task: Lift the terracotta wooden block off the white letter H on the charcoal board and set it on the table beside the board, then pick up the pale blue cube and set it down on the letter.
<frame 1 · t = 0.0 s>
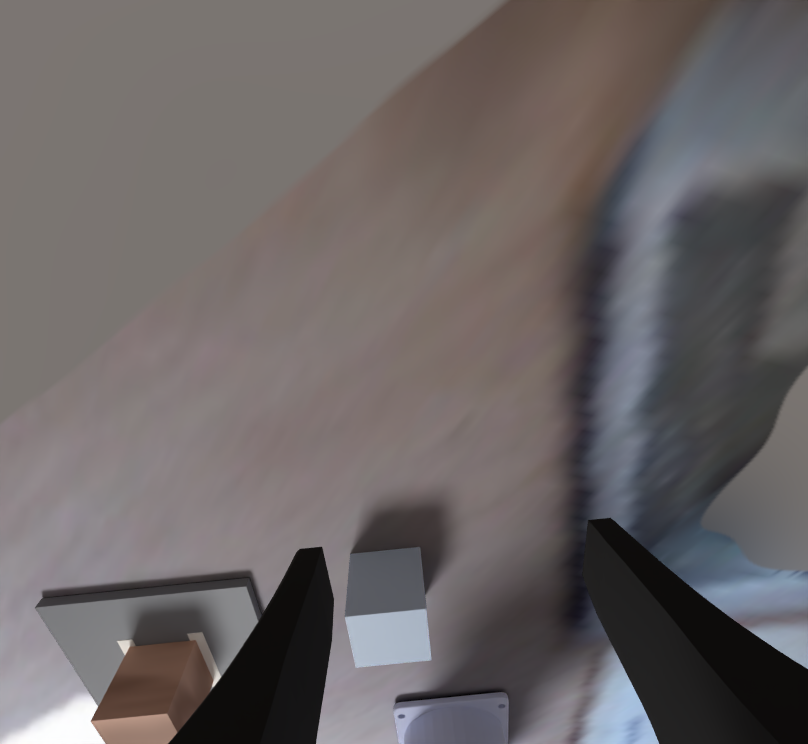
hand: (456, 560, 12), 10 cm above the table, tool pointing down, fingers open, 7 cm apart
terracotta block: (172, 664, 28), point 1 cm above the table, touching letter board
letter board: (177, 654, 29), on the table
pale blue cube: (388, 574, 27), on the table
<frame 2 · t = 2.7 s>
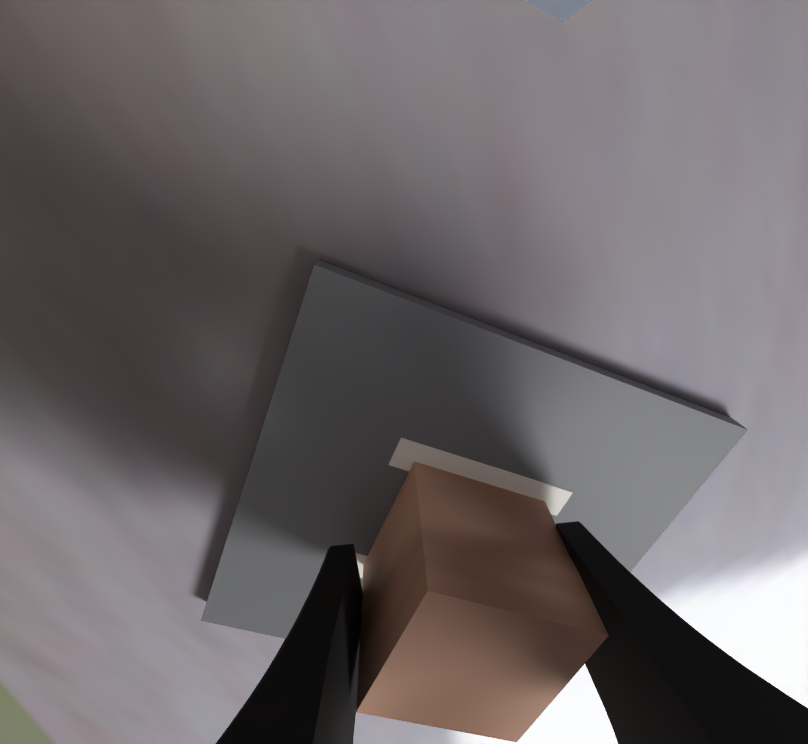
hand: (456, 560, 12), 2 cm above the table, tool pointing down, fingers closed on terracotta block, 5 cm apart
terracotta block: (451, 533, 13), point 1 cm above the table, touching gripper, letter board
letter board: (448, 518, 14), on the table
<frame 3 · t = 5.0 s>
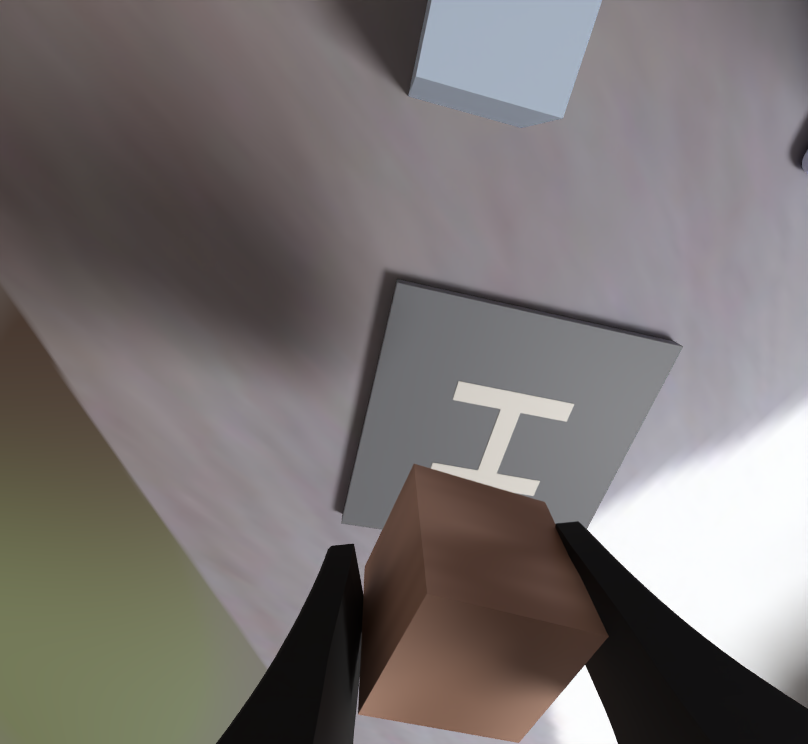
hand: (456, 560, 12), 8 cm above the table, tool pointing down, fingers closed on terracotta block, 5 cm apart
terracotta block: (452, 535, 13), point 7 cm above the table, touching gripper
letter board: (495, 434, 21), on the table
pale blue cube: (483, 42, 14), on the table
when the fingers open (2 cm above the table, at t = 7.3 s): terracotta block drops 2 cm, on the table.
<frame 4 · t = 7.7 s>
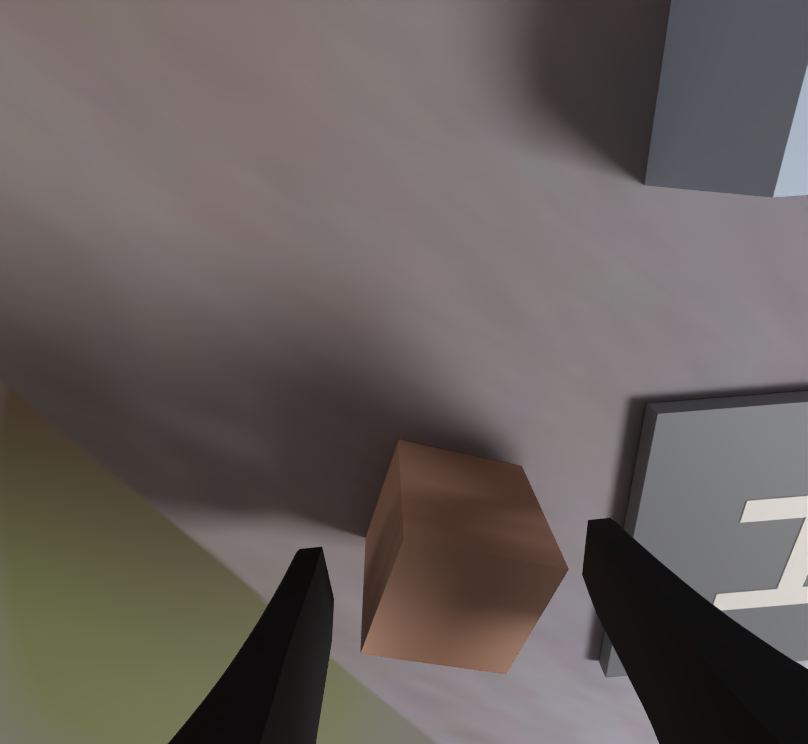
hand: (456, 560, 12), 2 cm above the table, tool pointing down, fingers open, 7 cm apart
terracotta block: (440, 501, 15), on the table
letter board: (788, 539, 16), on the table
pale blue cube: (746, 80, 10), on the table
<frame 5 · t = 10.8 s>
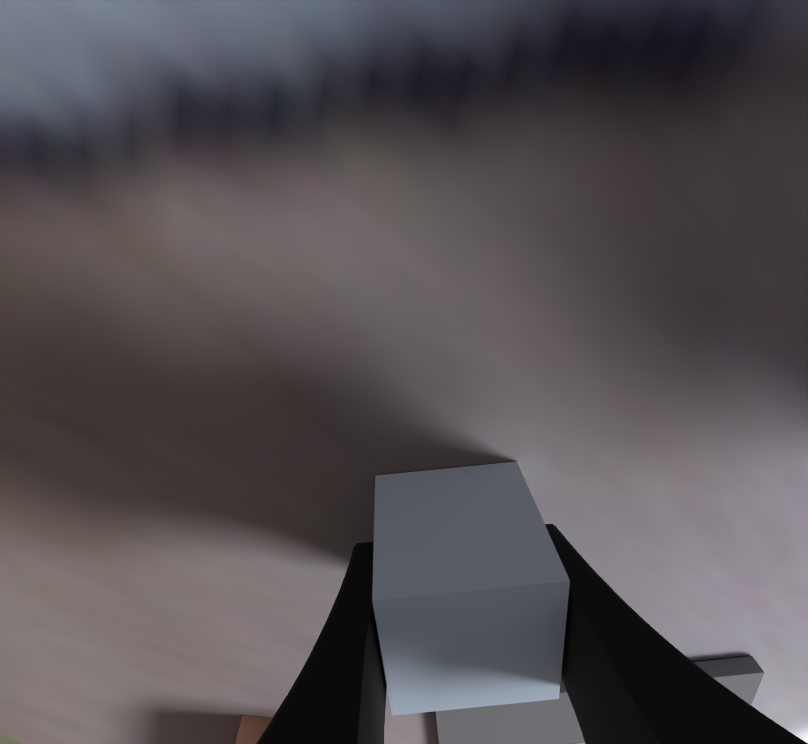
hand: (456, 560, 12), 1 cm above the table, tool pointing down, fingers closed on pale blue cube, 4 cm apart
pale blue cube: (449, 522, 14), on the table, touching gripper
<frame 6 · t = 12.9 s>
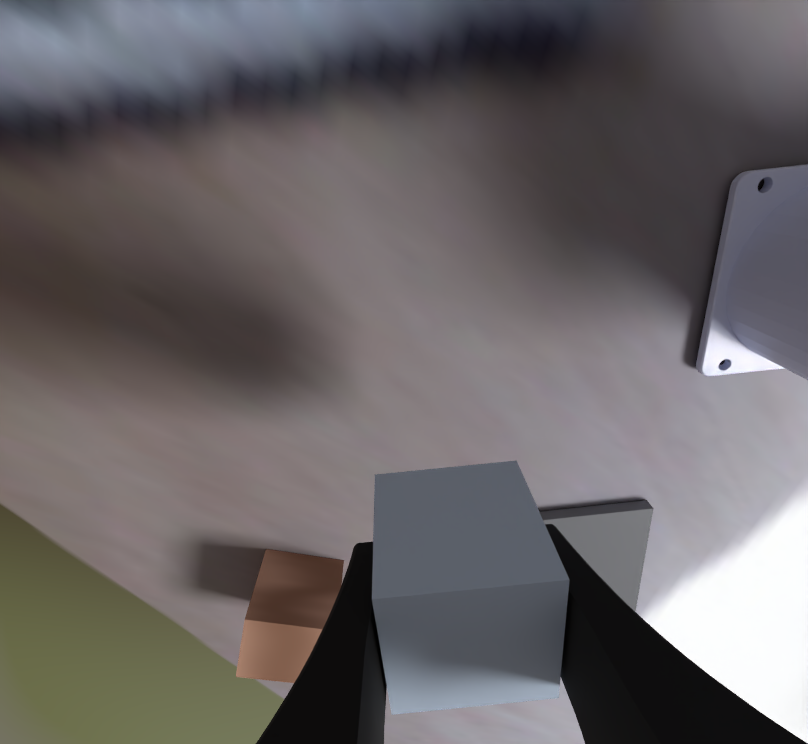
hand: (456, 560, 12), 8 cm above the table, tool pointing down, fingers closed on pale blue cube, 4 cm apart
terracotta block: (299, 580, 24), on the table
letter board: (525, 595, 25), on the table
pale blue cube: (449, 521, 14), point 7 cm above the table, touching gripper
when the fingers open (3 cm above the table, at t = 15.3 s): pale blue cube drops 1 cm, resting on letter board.
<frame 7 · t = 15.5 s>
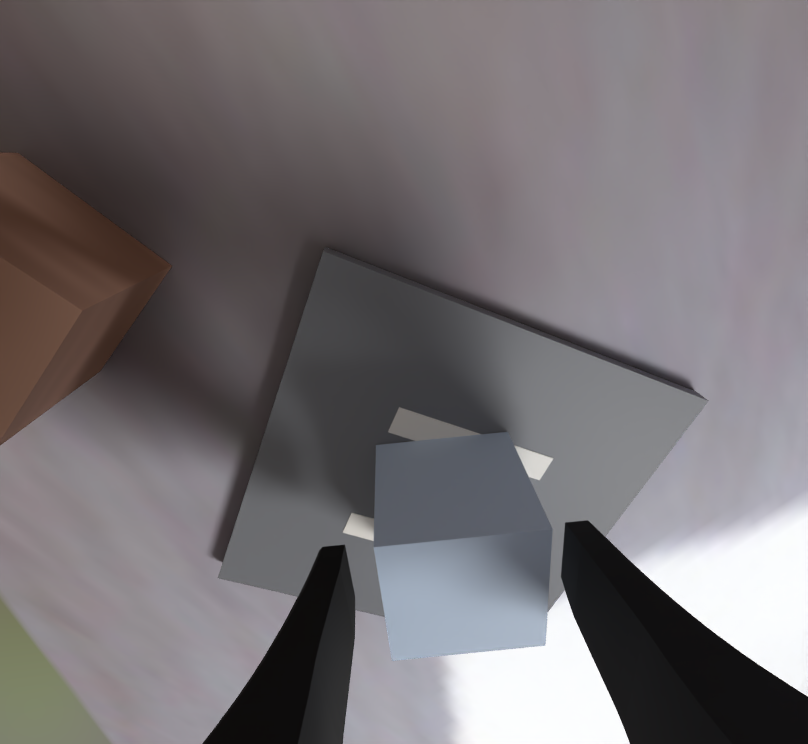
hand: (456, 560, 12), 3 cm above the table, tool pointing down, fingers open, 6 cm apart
terracotta block: (65, 272, 12), on the table
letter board: (442, 484, 15), on the table
pale blue cube: (445, 490, 15), point 1 cm above the table, touching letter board
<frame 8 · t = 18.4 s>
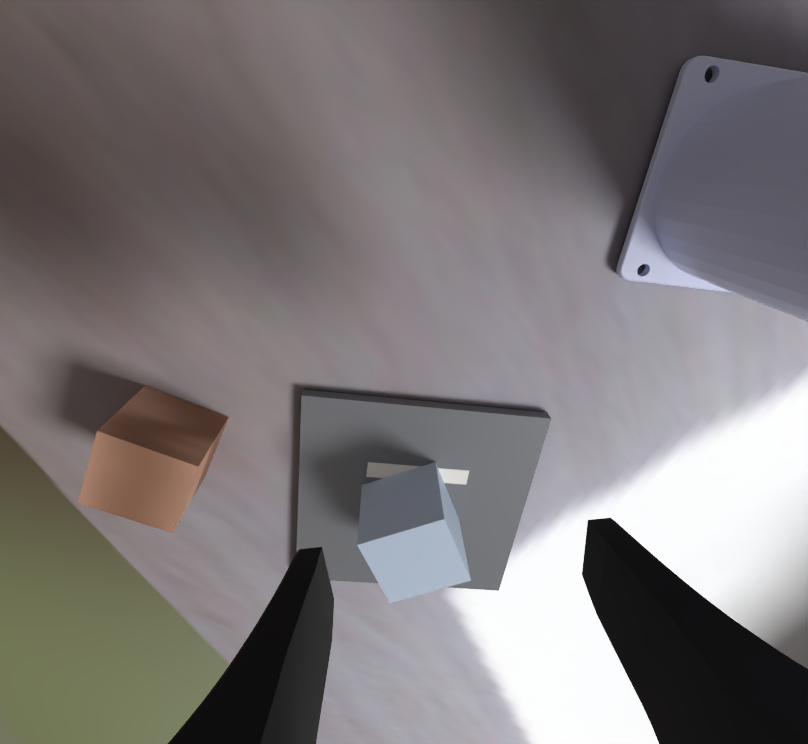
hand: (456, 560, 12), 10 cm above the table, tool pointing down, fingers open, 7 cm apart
terracotta block: (177, 432, 22), on the table
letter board: (411, 497, 25), on the table
pale blue cube: (411, 501, 24), point 1 cm above the table, touching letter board
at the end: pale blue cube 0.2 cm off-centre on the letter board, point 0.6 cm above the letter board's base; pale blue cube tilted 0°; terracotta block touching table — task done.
